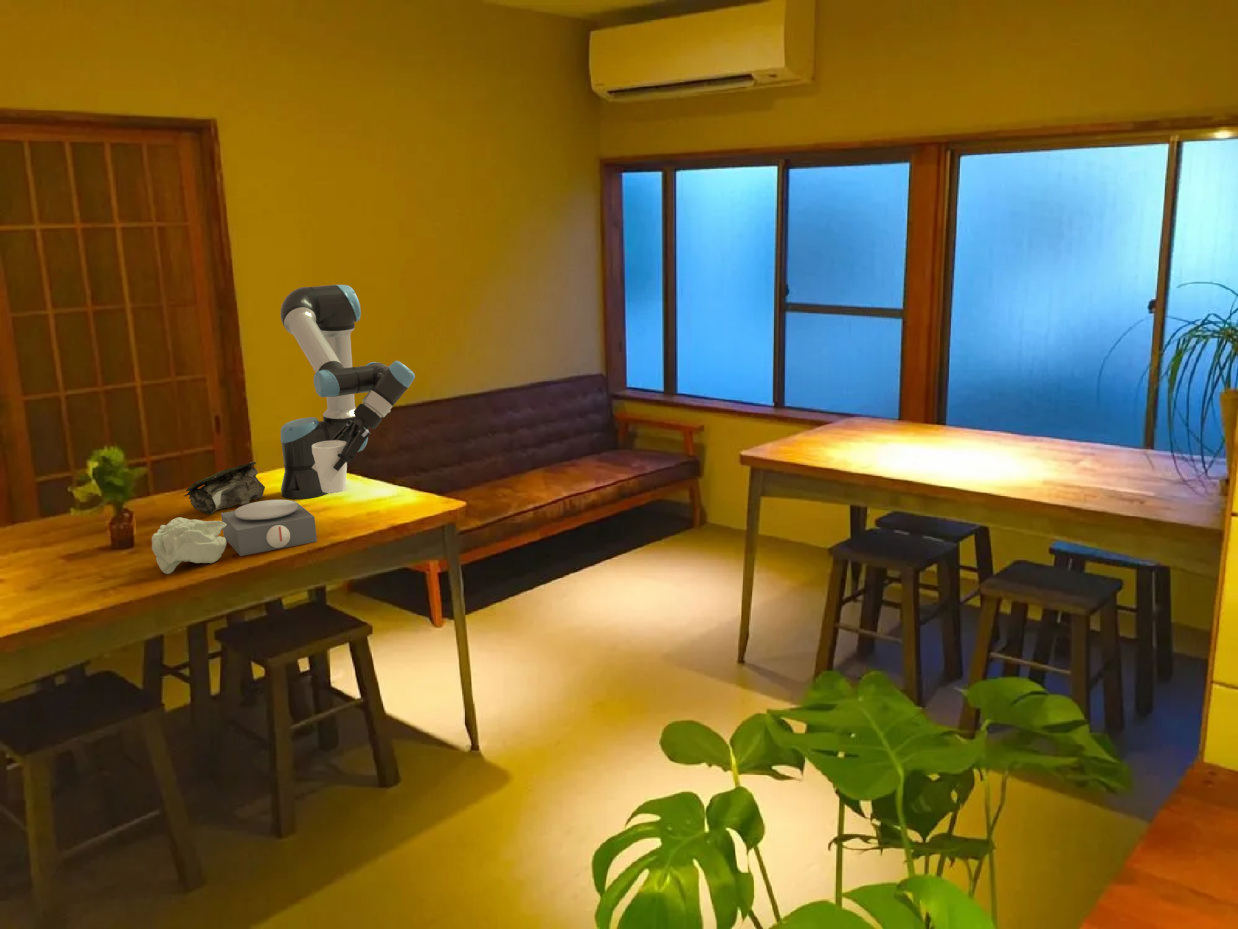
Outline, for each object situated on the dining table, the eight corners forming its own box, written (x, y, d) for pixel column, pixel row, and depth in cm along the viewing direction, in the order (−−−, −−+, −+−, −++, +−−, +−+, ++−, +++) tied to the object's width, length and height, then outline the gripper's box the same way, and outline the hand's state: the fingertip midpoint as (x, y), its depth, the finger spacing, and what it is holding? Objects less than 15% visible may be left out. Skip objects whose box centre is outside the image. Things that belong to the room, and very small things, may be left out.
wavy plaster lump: (202, 582, 268) (210, 524, 272) (227, 579, 260) (235, 519, 264) (133, 572, 255) (142, 511, 259) (157, 569, 247) (167, 505, 251)
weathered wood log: (196, 534, 304) (217, 502, 296) (169, 503, 305) (189, 470, 298) (265, 506, 328) (286, 476, 321) (239, 478, 330) (259, 447, 322)
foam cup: (356, 485, 289) (352, 440, 286) (344, 494, 280) (340, 448, 277) (323, 485, 290) (319, 440, 286) (311, 494, 281) (306, 448, 278)
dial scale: (224, 537, 284) (220, 506, 281) (297, 524, 294) (293, 493, 292) (241, 557, 266) (236, 524, 264) (318, 542, 276) (314, 510, 274)
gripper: (395, 425, 279) (343, 491, 275) (369, 412, 297) (319, 473, 293) (375, 408, 275) (322, 475, 271) (349, 396, 293) (299, 458, 289)
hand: (321, 474), depth 282 cm, fingers closed on foam cup, 9 cm apart
